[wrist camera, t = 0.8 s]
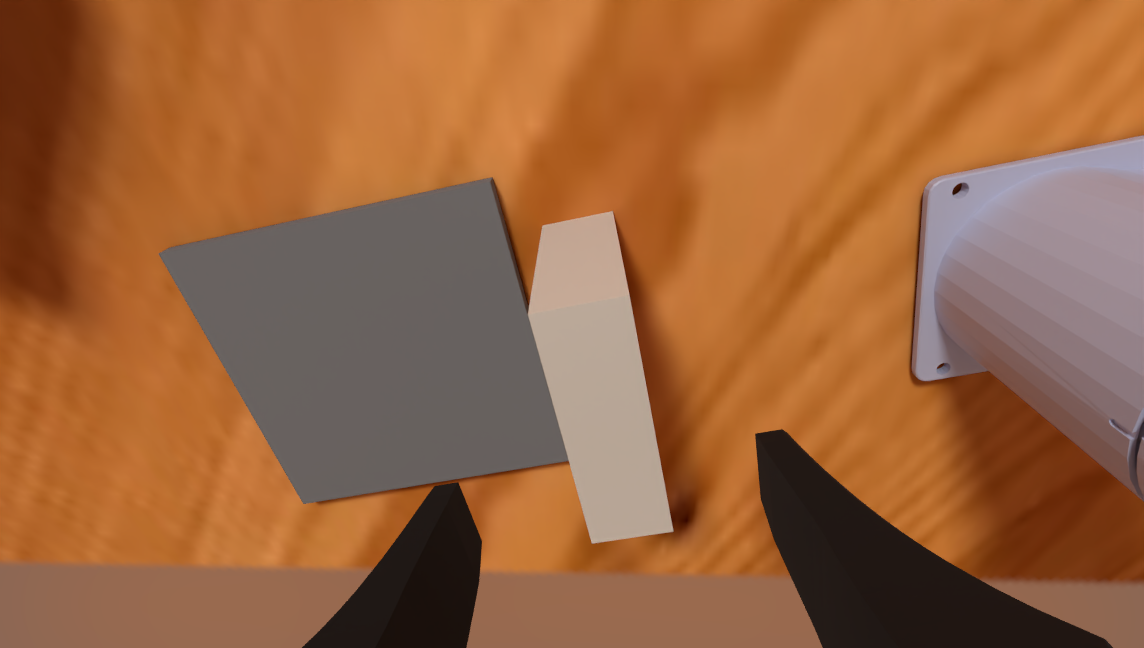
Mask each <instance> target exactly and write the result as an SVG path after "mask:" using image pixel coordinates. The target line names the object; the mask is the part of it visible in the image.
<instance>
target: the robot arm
mask: <svg viewBox="0 0 1144 648" xmlns="http://www.w3.org/2000/svg"><path fill="white" fill-rule="evenodd" d="M959 183H962V187H961V190H960V191H959V192H958V193H957V194H955V195H953V194H952V191H953V188H954V187H955V186H956V185H957V184H959ZM942 363H944V365H943V366H942V367H941V368H939V369H937V367H938V366H939V365H940V364H942ZM986 371H989V372H990V373H992V374H993V375H994V376H995V377H996V378H997V379H999V380H1000V381H1001V382H1002V383H1003V384H1005V385H1006V386H1007V387H1008V388H1009V389H1011V390H1012V391H1013V392H1014V393H1015V394H1017V395H1018V396H1019V397H1020V398H1021V399H1022V400H1024V401H1025V402H1026V403H1027V404H1028V405H1030V406H1031V407H1032V408H1033V409H1034V410H1036V411H1037V412H1038V413H1039V414H1040V415H1041V416H1043V417H1044V418H1045V419H1046V420H1047V421H1049V422H1050V423H1051V424H1052V425H1053V426H1055V427H1056V428H1057V429H1058V430H1059V431H1060V432H1062V433H1063V434H1064V435H1065V436H1066V437H1068V438H1069V439H1070V440H1071V441H1072V442H1074V443H1075V444H1076V445H1077V446H1078V447H1079V448H1081V449H1082V450H1083V451H1084V452H1085V453H1087V454H1088V455H1089V456H1090V457H1091V458H1093V459H1094V460H1095V461H1096V462H1097V463H1099V464H1100V465H1101V466H1102V467H1103V468H1104V469H1106V470H1107V471H1108V472H1109V473H1110V474H1112V475H1113V476H1114V477H1115V478H1116V479H1118V480H1119V481H1120V482H1121V483H1122V484H1123V485H1125V486H1126V487H1127V488H1128V489H1129V490H1131V491H1132V492H1133V493H1134V494H1135V495H1137V496H1138V497H1139V498H1140V499H1141V500H1142V501H1144V135H1143V136H1138V137H1133V138H1128V139H1123V140H1118V141H1113V142H1108V143H1103V144H1098V145H1093V146H1088V147H1083V148H1078V149H1073V150H1068V151H1063V152H1058V153H1053V154H1049V155H1044V156H1039V157H1034V158H1029V159H1024V160H1019V161H1014V162H1009V163H1004V164H999V165H994V166H989V167H984V168H979V169H974V170H969V171H964V172H959V173H954V174H949V175H944V176H940V177H937V178H934V179H933V180H932V181H930V182H929V183H928V184H927V186H926V187H925V189H924V193H923V204H922V219H921V234H920V249H919V264H918V279H917V294H916V309H915V324H914V339H913V354H912V373H913V374H914V375H915V376H916V377H917V378H918V379H919V380H921V381H932V380H938V379H944V378H950V377H956V376H962V375H968V374H974V373H980V372H986ZM755 436H756V448H757V460H758V471H759V483H760V495H761V501H762V504H763V507H764V510H765V513H766V516H767V519H768V522H769V525H770V528H771V531H772V534H773V537H774V540H775V542H776V545H777V547H778V549H779V551H780V554H781V556H782V558H783V560H784V562H785V565H786V567H787V569H788V571H789V573H790V576H791V578H792V580H793V582H794V584H795V586H796V588H797V591H798V593H799V595H800V597H801V600H802V601H803V604H804V606H805V608H806V610H807V613H808V615H809V617H810V619H811V621H812V623H813V626H814V627H815V630H816V632H817V635H818V637H819V640H820V642H821V644H822V647H823V648H1113V647H1112V646H1111V645H1110V644H1109V643H1108V642H1107V641H1106V640H1105V639H1103V638H1101V637H1099V636H1097V635H1094V634H1092V633H1090V632H1087V631H1085V630H1083V629H1081V628H1078V627H1076V626H1074V625H1071V624H1069V623H1067V622H1065V621H1062V620H1060V619H1058V618H1055V617H1053V616H1051V615H1049V614H1046V613H1044V612H1042V611H1040V610H1037V609H1035V608H1033V607H1031V606H1029V605H1027V604H1025V603H1023V602H1021V601H1019V600H1017V599H1015V598H1013V597H1011V596H1009V595H1007V594H1005V593H1003V592H1001V591H999V590H997V589H995V588H993V587H992V586H990V585H988V584H986V583H984V582H982V581H981V580H979V579H977V578H975V577H974V576H972V575H970V574H968V573H967V572H965V571H963V570H961V569H959V568H958V567H956V566H954V565H952V564H951V563H949V562H947V561H945V560H944V559H942V558H941V557H939V556H937V555H936V554H934V553H933V552H931V551H930V550H928V549H926V548H925V547H923V546H922V545H920V544H919V543H917V542H916V541H914V540H913V539H911V538H910V537H908V536H907V535H905V534H904V533H902V532H901V531H900V530H898V529H897V528H895V527H894V526H893V525H891V524H890V523H889V522H887V521H886V520H885V519H883V518H882V517H881V516H879V515H878V514H877V513H875V512H874V511H873V510H872V509H870V508H869V507H868V506H866V505H865V504H864V503H863V502H861V501H860V500H859V499H858V498H857V497H855V496H854V495H853V494H852V493H850V492H849V491H848V490H847V489H846V488H845V487H844V486H842V485H841V484H840V483H839V482H838V481H837V480H835V479H834V478H833V477H832V476H831V475H830V474H829V473H828V472H826V471H825V470H824V469H823V468H822V467H821V466H820V465H819V464H818V463H817V462H816V461H815V460H814V459H813V458H811V457H810V456H809V455H808V454H807V453H806V452H805V451H804V450H803V449H802V448H801V447H800V446H799V445H798V444H797V443H796V442H795V441H794V440H793V439H792V438H791V436H790V435H789V434H788V433H787V432H785V431H784V430H782V429H781V430H775V431H769V432H763V433H757V434H755ZM481 547H482V540H481V538H480V535H479V533H478V530H477V528H476V525H475V523H474V520H473V518H472V515H471V513H470V510H469V508H468V505H467V503H466V501H465V498H464V496H463V493H462V491H461V488H460V486H459V483H458V482H457V483H451V484H445V485H439V486H434V488H433V489H432V490H431V492H430V493H429V495H428V496H427V497H426V499H425V500H424V501H423V503H422V504H421V506H420V507H419V508H418V510H417V511H416V513H415V514H414V516H413V517H412V518H411V520H410V521H409V523H408V524H407V525H406V527H405V528H404V530H403V531H402V532H401V534H400V535H399V536H398V538H397V539H396V541H395V542H394V543H393V545H392V546H391V547H390V549H389V550H388V551H387V553H386V554H385V555H384V557H383V558H382V559H381V561H380V562H379V563H378V564H377V566H376V567H375V568H374V569H373V571H372V572H371V573H370V574H369V576H368V577H367V578H366V579H365V581H364V582H363V583H362V584H361V585H360V587H359V588H358V589H357V590H356V592H355V593H354V594H353V595H352V596H351V597H350V598H349V600H348V601H347V602H346V603H345V604H344V605H343V606H342V608H341V609H340V610H339V611H338V612H337V613H336V614H335V615H334V616H333V617H332V618H331V619H330V620H329V621H328V622H327V624H326V625H325V626H324V627H323V628H322V629H321V630H320V631H319V632H318V633H317V634H316V635H315V636H314V637H313V638H312V639H311V640H309V641H308V642H307V643H306V644H305V646H303V647H302V648H466V647H467V642H468V637H469V632H470V626H471V621H472V616H473V611H474V606H475V601H476V596H477V589H478V585H479V576H480V564H481Z"/></svg>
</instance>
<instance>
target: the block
mask: <svg viewBox="0 0 1144 648" xmlns="http://www.w3.org/2000/svg"><path fill="white" fill-rule="evenodd" d="M528 317H529V321H530V324H531V328H532V331H533V335H534V338H535V342H536V346H537V349H538V353H539V356H540V360H541V363H542V367H543V370H544V374H545V378H546V381H547V385H548V388H549V392H550V395H551V399H552V403H553V406H554V410H555V413H556V417H557V420H558V424H559V428H560V431H561V435H562V438H563V442H564V445H565V449H566V453H567V456H568V460H569V463H570V467H571V470H572V474H573V478H574V481H575V485H576V488H577V492H578V495H579V499H580V503H581V506H582V510H583V513H584V517H585V520H586V524H587V528H588V531H589V535H590V538H591V542H592V544H593V543H599V542H606V541H613V540H620V539H627V538H633V537H640V536H647V535H654V534H660V533H667V532H673V527H672V521H671V516H670V510H669V505H668V500H667V494H666V489H665V483H664V478H663V473H662V467H661V462H660V457H659V451H658V446H657V440H656V435H655V430H654V424H653V419H652V414H651V408H650V403H649V397H648V392H647V387H646V381H645V376H644V371H643V365H642V360H641V354H640V349H639V344H638V338H637V333H636V327H635V322H634V317H633V311H632V306H631V301H630V295H629V290H628V285H627V280H626V275H625V270H624V265H623V260H622V255H621V250H620V245H619V240H618V235H617V230H616V225H615V220H614V215H613V211H611V212H606V213H601V214H597V215H592V216H587V217H582V218H577V219H572V220H568V221H563V222H558V223H553V224H548V225H543V226H542V232H541V238H540V244H539V250H538V256H537V262H536V268H535V274H534V280H533V286H532V292H531V298H530V304H529V310H528Z"/></svg>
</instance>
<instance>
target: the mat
mask: <svg viewBox="0 0 1144 648" xmlns="http://www.w3.org/2000/svg"><path fill="white" fill-rule="evenodd" d="M159 255H160V257H161V259H162V260H163V262H164V264H165V266H166V267H167V269H168V271H169V273H170V274H171V276H172V278H173V279H174V281H175V283H176V285H177V286H178V288H179V290H180V292H181V293H182V295H183V297H184V298H185V300H186V302H187V304H188V305H189V307H190V309H191V311H192V312H193V314H194V316H195V317H196V319H197V321H198V323H199V324H200V326H201V328H202V330H203V331H204V333H205V335H206V336H207V338H208V340H209V342H210V343H211V345H212V347H213V349H214V350H215V352H216V354H217V355H218V357H219V359H220V361H221V362H222V364H223V366H224V368H225V369H226V371H227V373H228V374H229V376H230V378H231V380H232V381H233V383H234V385H235V387H236V388H237V390H238V392H239V393H240V395H241V397H242V399H243V400H244V402H245V404H246V406H247V407H248V409H249V411H250V412H251V414H252V416H253V418H254V419H255V421H256V423H257V425H258V426H259V428H260V430H261V431H262V433H263V435H264V437H265V438H266V440H267V442H268V444H269V445H270V447H271V449H272V450H273V452H274V454H275V456H276V457H277V459H278V461H279V463H280V464H281V466H282V468H283V469H284V471H285V473H286V475H287V476H288V478H289V480H290V482H291V483H292V485H293V487H294V488H295V490H296V492H297V494H298V495H299V497H300V499H301V501H302V502H303V504H306V503H312V502H318V501H325V500H331V499H337V498H343V497H349V496H355V495H361V494H368V493H374V492H380V491H386V490H392V489H398V488H405V487H411V486H417V485H423V484H429V483H435V482H442V481H448V480H454V479H460V478H466V477H472V476H478V475H485V474H491V473H497V472H503V471H509V470H515V469H522V468H528V467H534V466H540V465H546V464H552V463H559V462H565V461H568V456H567V453H566V449H565V445H564V442H563V438H562V435H561V431H560V428H559V424H558V420H557V417H556V413H555V410H554V406H553V403H552V399H551V395H550V392H549V388H548V385H547V381H546V378H545V374H544V370H543V367H542V363H541V360H540V356H539V353H538V349H537V346H536V342H535V338H534V335H533V331H532V328H531V324H530V321H529V317H528V310H529V307H528V304H527V300H526V297H525V293H524V289H523V286H522V282H521V279H520V275H519V271H518V268H517V264H516V261H515V257H514V253H513V250H512V246H511V243H510V239H509V235H508V232H507V228H506V225H505V221H504V217H503V214H502V210H501V207H500V203H499V199H498V196H497V192H496V189H495V185H494V181H493V178H487V179H483V180H478V181H474V182H469V183H465V184H460V185H455V186H451V187H446V188H442V189H437V190H432V191H428V192H423V193H419V194H414V195H409V196H405V197H400V198H396V199H391V200H386V201H382V202H377V203H373V204H368V205H364V206H359V207H354V208H350V209H345V210H341V211H336V212H331V213H327V214H322V215H318V216H313V217H308V218H304V219H299V220H295V221H290V222H285V223H281V224H276V225H272V226H267V227H263V228H258V229H253V230H249V231H244V232H240V233H235V234H230V235H226V236H221V237H217V238H212V239H207V240H203V241H198V242H194V243H189V244H184V245H180V246H175V247H171V248H168V249H166V250H164V251H163V252H161V253H159Z"/></svg>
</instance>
